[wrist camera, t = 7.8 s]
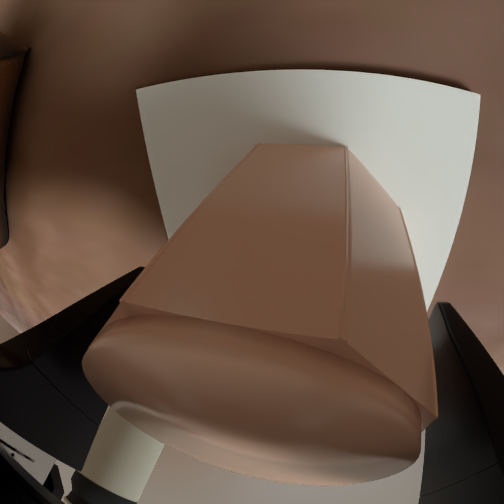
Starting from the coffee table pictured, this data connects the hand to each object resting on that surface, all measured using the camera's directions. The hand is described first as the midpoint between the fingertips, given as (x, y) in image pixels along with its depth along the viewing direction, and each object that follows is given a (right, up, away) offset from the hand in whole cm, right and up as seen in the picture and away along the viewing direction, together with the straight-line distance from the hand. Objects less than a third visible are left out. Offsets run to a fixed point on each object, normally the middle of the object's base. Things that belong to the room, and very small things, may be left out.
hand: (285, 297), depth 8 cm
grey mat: (+1, +2, +3) cm, 4 cm away
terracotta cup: (+1, +2, +3) cm, 3 cm away
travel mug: (-14, -18, +24) cm, 33 cm away
